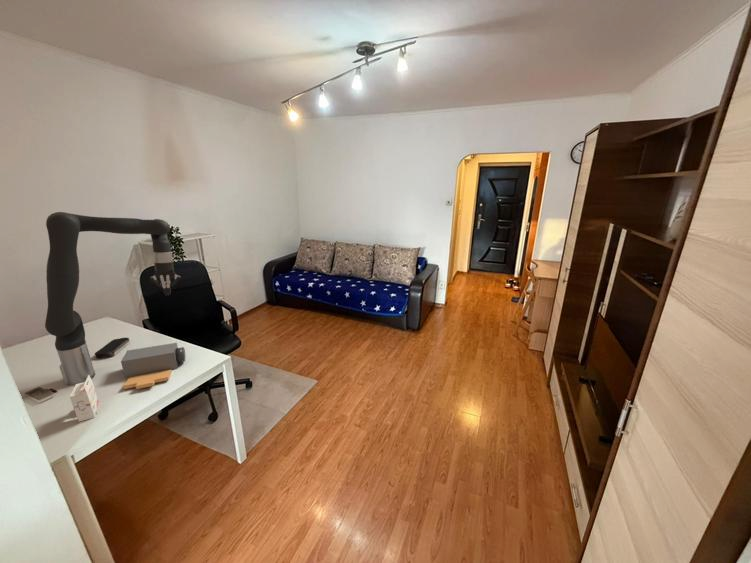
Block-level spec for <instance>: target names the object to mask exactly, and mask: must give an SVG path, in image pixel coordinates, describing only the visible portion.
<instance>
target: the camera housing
mask: <svg viewBox="0 0 751 563" xmlns="http://www.w3.org/2000/svg"><path fill="white" fill-rule="evenodd" d="M120 362H121V367H122V370H123V374H124V379H129V378H130V377H134V376H140V375H145V374H150V373H156V372H161V371H166V370H171V369H172V371H173V370H178V366H179V363H182V362H186V349H185V347H184V346H182V347H178V342H173V343H166V344H160V345H153V346H152V345H151V346H147V347H142V348H140V347H139V348H136V349H135V348H134V349H129V350H127V349H126V352H125V354H124V355H123V357H122V359H121V360H120Z"/></svg>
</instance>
